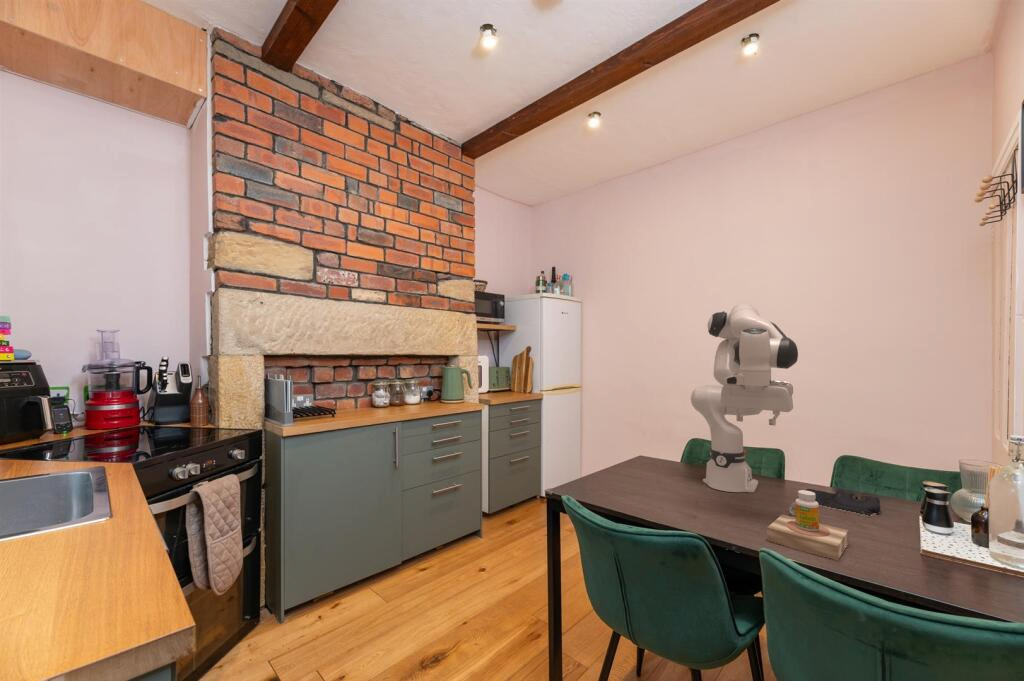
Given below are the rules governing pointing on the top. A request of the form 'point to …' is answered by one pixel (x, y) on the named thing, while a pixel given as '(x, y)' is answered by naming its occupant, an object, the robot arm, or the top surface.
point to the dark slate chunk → (848, 501)
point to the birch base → (809, 537)
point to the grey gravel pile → (793, 510)
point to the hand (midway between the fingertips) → (755, 423)
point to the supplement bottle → (807, 511)
